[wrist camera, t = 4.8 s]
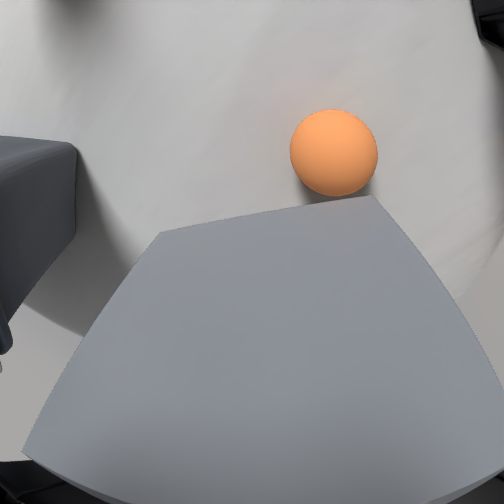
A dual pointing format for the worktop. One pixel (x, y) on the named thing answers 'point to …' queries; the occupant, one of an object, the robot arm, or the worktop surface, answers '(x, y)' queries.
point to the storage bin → (32, 217)
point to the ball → (333, 152)
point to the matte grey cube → (277, 372)
